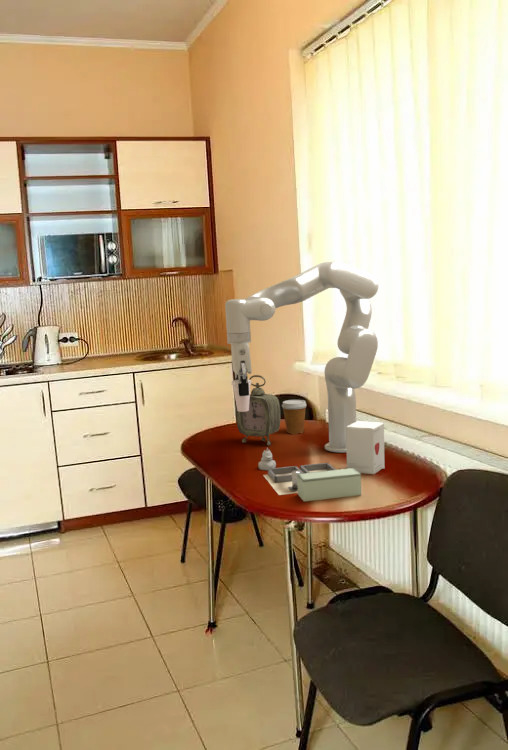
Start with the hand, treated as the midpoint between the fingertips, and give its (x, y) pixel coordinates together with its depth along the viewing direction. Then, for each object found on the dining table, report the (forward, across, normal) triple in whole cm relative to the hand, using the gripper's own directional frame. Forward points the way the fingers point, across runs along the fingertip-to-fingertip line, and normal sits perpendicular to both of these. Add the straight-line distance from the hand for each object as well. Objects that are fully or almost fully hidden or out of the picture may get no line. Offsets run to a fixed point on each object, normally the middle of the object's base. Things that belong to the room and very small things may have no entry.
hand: (242, 393), depth 226 cm
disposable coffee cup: (+24, +38, -25) cm, 51 cm away
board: (+23, -28, -13) cm, 39 cm away
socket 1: (+22, -23, -8) cm, 33 cm away
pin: (+22, -35, -9) cm, 42 cm away
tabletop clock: (+24, +26, -10) cm, 36 cm away
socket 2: (+22, -23, -18) cm, 37 cm away
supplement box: (+24, -22, -33) cm, 46 cm away
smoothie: (+6, 0, 0) cm, 6 cm away
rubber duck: (+24, -11, -5) cm, 27 cm away
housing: (+23, -43, -16) cm, 51 cm away
